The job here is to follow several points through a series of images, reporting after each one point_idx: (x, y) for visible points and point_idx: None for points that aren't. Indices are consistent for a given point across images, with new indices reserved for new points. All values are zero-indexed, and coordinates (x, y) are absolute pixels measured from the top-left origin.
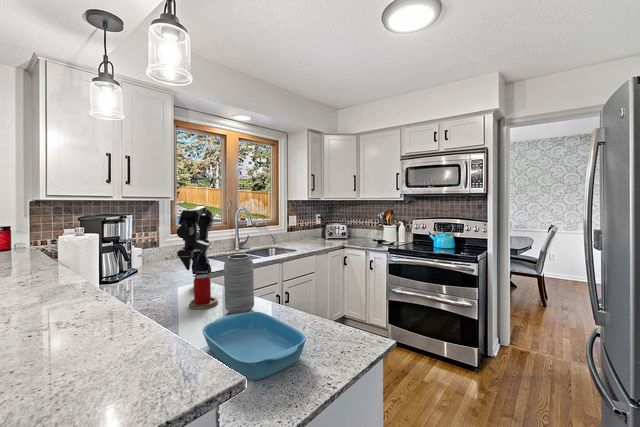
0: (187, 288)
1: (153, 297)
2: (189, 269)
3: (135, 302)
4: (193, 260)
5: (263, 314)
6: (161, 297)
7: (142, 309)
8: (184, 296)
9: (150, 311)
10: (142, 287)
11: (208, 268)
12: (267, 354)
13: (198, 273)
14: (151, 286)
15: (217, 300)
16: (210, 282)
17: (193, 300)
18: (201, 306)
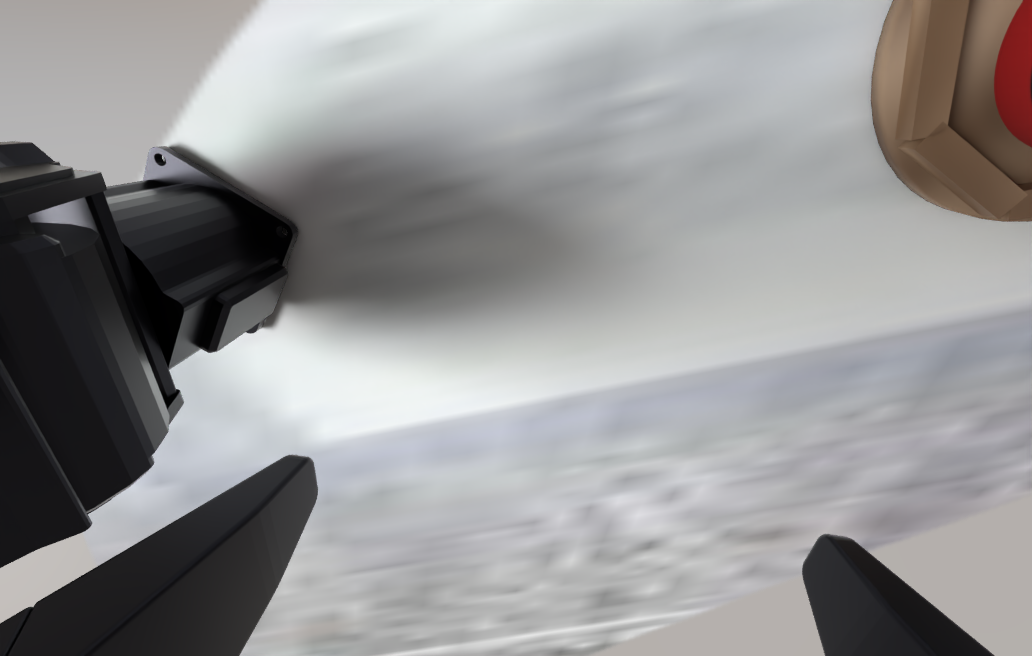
0: (360, 362)
1: (583, 540)
2: (839, 539)
3: (670, 604)
4: (218, 653)
5: None
6: (598, 496)
7: (867, 546)
8: (623, 334)
9: (959, 495)
10: (337, 627)
11: (6, 185)
12: None
13: (150, 337)
14: (312, 593)
15: None
16: (152, 156)
17: (1004, 183)
18: None
